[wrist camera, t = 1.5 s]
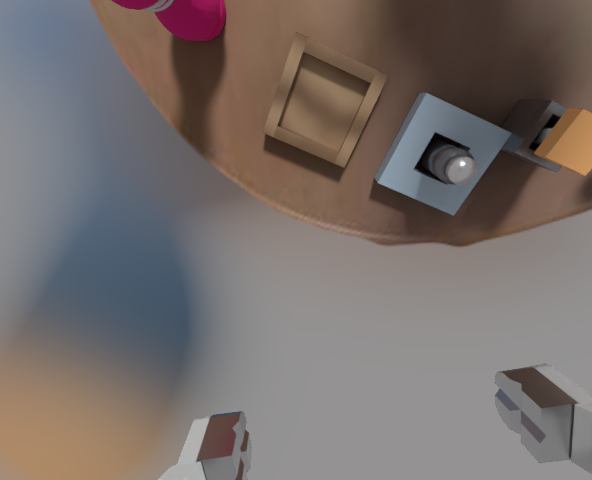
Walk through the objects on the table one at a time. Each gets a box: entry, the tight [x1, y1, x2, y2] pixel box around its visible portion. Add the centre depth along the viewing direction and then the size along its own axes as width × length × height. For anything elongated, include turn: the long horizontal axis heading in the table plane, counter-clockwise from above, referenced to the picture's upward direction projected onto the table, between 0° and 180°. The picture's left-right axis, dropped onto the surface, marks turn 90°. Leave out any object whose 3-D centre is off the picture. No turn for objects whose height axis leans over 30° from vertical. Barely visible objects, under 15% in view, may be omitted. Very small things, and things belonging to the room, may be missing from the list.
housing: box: [500, 100, 568, 172], centre depth 37 cm, size 6×6×6 cm
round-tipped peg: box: [419, 140, 478, 185], centre depth 37 cm, size 4×4×10 cm
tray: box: [263, 32, 389, 168], centre depth 39 cm, size 12×12×2 cm
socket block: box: [374, 93, 512, 216], centre depth 41 cm, size 12×12×3 cm
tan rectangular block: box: [532, 108, 592, 176], centre depth 34 cm, size 5×5×7 cm
